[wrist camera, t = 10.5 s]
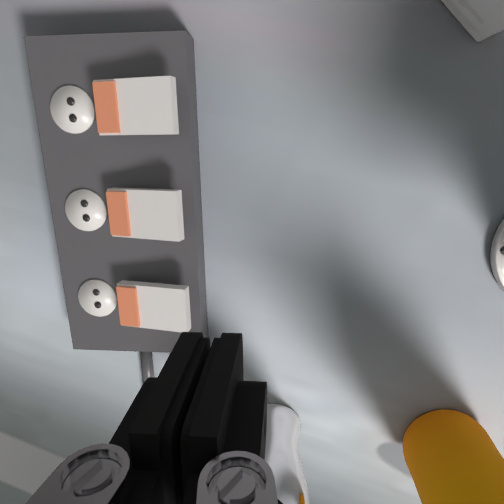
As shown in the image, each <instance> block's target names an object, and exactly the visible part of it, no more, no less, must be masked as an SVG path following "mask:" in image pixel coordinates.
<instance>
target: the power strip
mask: <svg viewBox="0 0 504 504" xmlns="http://www.w3.org/2000/svg"><path fill="white" fill-rule="evenodd" d="M24 39H25V46H26V52H27V58H28V65H29V71H30V77H31V84H32V90H33V96H34V103H35V109H36V115H37V122H38V128H39V134H40V141H41V147H42V153H43V160H44V166H45V172H46V179H47V185H48V191H49V198H50V204H51V210H52V217H53V223H54V229H55V236H56V242H57V248H58V255H59V261H60V267H61V274H62V280H63V286H64V292H65V299H66V305H67V311H68V318H69V324H70V330H71V337H72V343H73V349H85V350H114V351H140V352H141V361H142V371H143V380H144V382H145V381H146V379H147V378H149V377H154V371H153V360H152V352H172V350H173V348H174V346H175V344H176V342H177V340H178V338H179V337H180V335H181V333H182V332H173V331H165V330H156V329H148V328H139V327H131V326H122V325H120V317H119V308H118V300H117V291H116V287H117V283H119V282H120V281H122V280H127V281H138V282H150V283H162V284H173V285H185V286H189V298H190V314H191V329H190V330H189V332H202V333H203V337H205V338H208V326H207V306H206V285H205V265H204V244H203V224H202V203H201V183H200V162H199V142H198V121H197V101H196V80H195V60H194V39H193V38H192V37H191V36H190V35H189V34H188V33H187V32H186V31H185V30H181V31H153V32H126V33H98V34H70V35H43V36H24ZM155 76H173V77H176V93H177V109H178V125H179V134H169V135H99V133H98V128H97V119H96V111H95V102H94V94H93V85H92V82H93V80H103V79H120V78H138V77H155ZM108 188H144V189H173V190H181V191H182V207H183V223H184V239H183V240H181V241H179V242H176V241H164V240H151V239H139V238H127V237H114V236H112V235H111V233H110V224H109V216H108V207H107V198H106V191H107V189H108Z"/></svg>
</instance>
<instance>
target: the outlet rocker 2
mask: <svg viewBox="0 0 504 504" xmlns="http://www.w3.org/2000/svg"><path fill="white" fill-rule="evenodd" d="M116 291H117V300H118V308H119V317H120V325H122V326H131V327H139V328H148V329H156V330H165V331H173V332H189V330H190V329H191V314H190V298H189V286H185V285H173V284H162V283H150V282H138V281H127V280H122V281H120V282H119V283H117V287H116Z"/></svg>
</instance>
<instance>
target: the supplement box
mask: <svg viewBox="0 0 504 504" xmlns="http://www.w3.org/2000/svg"><path fill="white" fill-rule="evenodd" d="M441 1H442V2H443V3H444V5H445V6H446V7H447V8H448V9H449V10H450V12H451V13H452V14H453V15H454V16H455V17H456V19H457V20H458V21H459V22H460V23H461V24H462V26H463V27H464V28H465V29H466V30H467V31H468V33H469V34H470V35H471V36H472V37H473V38H474V39H475V40H476V41H477V42H480V41H482V40H484V39H486V38H488V37H490V36H492V35H494V34H496V33H498V32H500V31H502V30H504V0H441Z"/></svg>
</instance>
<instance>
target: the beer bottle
mask: <svg viewBox="0 0 504 504" xmlns="http://www.w3.org/2000/svg"><path fill="white" fill-rule="evenodd" d="M403 452H404V457H405V461H406V463H407V466H408V468H409V471H410V473H411V475H412V478H413V480H414V483H415V486H416V488H417V491H418V494H419V497H420V499H421V502H422V504H504V459H503V457H502V456H501V454H500V453H499V451H498V450H497V448H496V447H495V445H494V443H493V442H492V440H491V438H490V437H489V435H488V434H487V432H486V431H485V430H484V428H483V427H482V426H481V425H480V424H479V423H478V422H477V421H476V420H475V419H473V418H472V417H470V416H469V415H466V414H464V413H462V412H459V411H455V410H447V409H444V410H435V411H431V412H428V413H425V414H423V415H421V416H420V417H418V418H417V419H416V420H414V421H413V422H412V423H411V424H410V426H409V427H408V428H407V430H406V432H405V435H404V438H403Z"/></svg>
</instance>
